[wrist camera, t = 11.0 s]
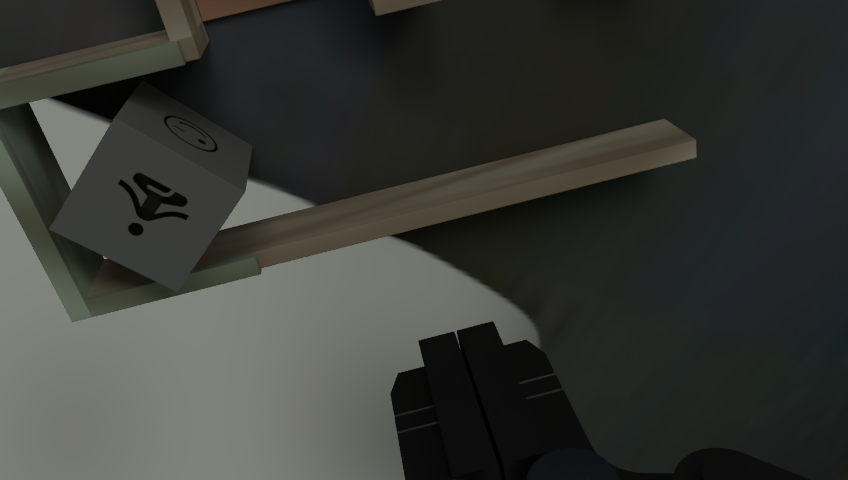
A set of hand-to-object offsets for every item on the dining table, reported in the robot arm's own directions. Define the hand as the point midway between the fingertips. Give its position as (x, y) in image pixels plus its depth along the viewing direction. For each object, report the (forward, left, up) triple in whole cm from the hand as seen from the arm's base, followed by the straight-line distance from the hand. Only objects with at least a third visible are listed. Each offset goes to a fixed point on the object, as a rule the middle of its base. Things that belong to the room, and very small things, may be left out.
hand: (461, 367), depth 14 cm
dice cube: (+1, -9, -19) cm, 21 cm away
